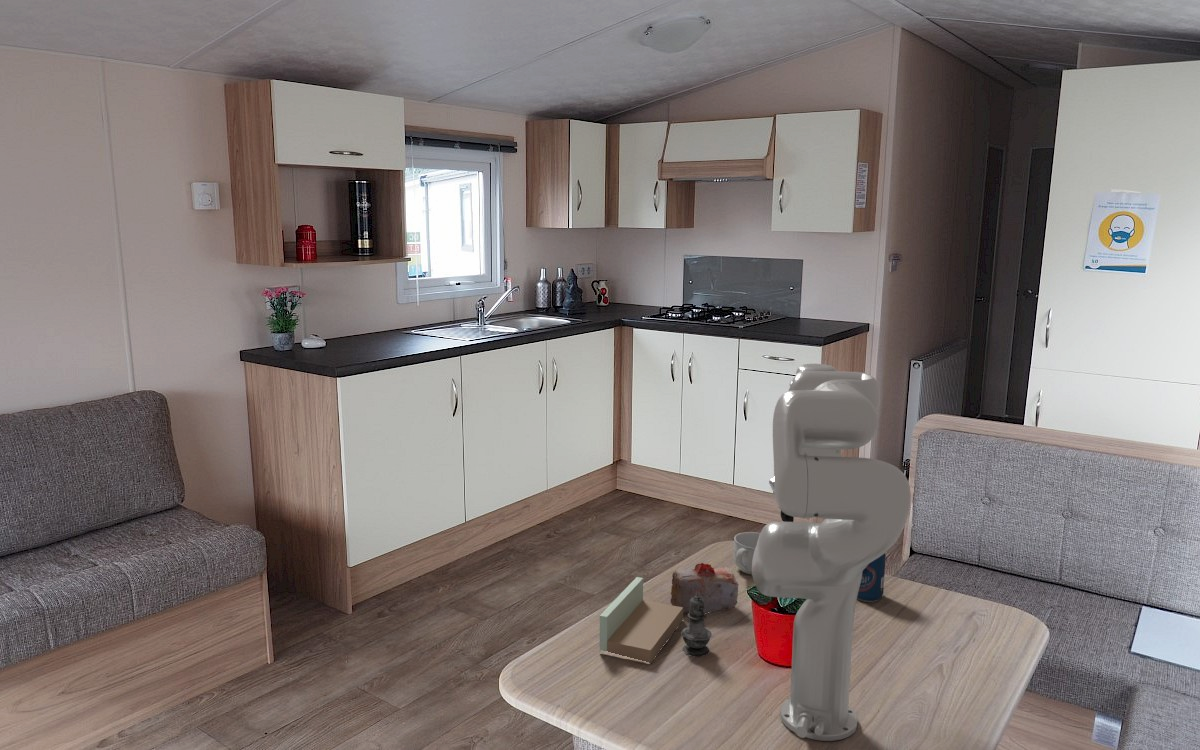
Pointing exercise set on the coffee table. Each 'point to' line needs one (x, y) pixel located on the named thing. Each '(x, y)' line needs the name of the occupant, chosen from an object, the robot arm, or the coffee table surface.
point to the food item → (704, 587)
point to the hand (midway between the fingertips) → (810, 519)
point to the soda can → (872, 581)
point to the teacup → (745, 550)
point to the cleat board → (637, 624)
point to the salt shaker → (696, 630)
